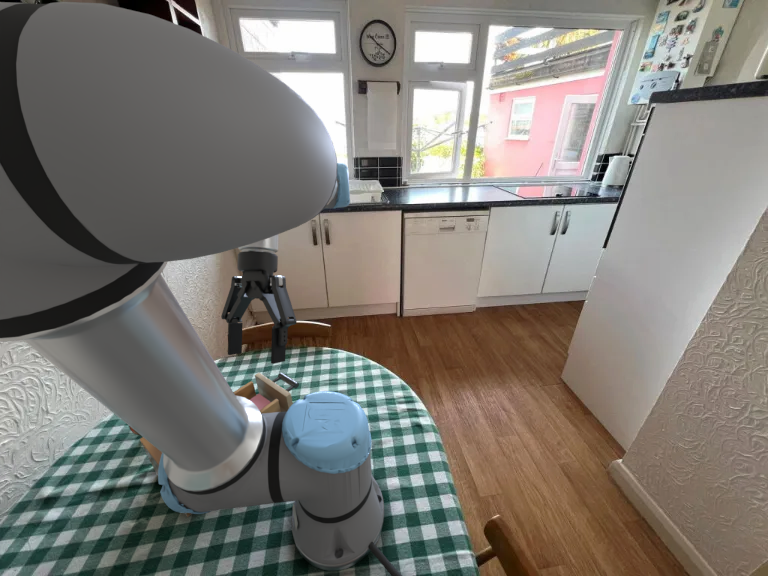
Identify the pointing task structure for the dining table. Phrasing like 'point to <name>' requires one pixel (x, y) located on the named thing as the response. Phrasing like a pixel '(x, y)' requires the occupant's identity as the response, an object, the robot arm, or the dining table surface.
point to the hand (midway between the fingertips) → (255, 358)
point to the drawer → (270, 392)
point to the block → (260, 401)
